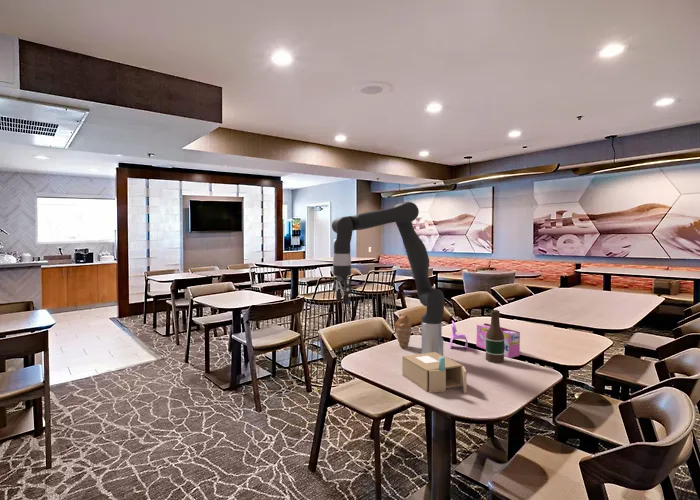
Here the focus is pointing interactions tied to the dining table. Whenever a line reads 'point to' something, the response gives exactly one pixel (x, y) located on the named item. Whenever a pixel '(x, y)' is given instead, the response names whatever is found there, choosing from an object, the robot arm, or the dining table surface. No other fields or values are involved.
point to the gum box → (509, 340)
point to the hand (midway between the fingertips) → (342, 302)
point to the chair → (457, 335)
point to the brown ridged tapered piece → (403, 330)
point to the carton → (422, 363)
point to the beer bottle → (495, 340)
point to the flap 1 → (438, 378)
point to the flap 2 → (464, 379)
